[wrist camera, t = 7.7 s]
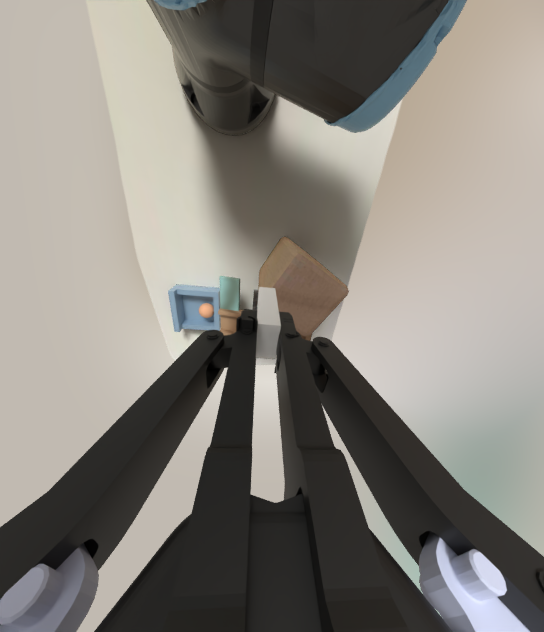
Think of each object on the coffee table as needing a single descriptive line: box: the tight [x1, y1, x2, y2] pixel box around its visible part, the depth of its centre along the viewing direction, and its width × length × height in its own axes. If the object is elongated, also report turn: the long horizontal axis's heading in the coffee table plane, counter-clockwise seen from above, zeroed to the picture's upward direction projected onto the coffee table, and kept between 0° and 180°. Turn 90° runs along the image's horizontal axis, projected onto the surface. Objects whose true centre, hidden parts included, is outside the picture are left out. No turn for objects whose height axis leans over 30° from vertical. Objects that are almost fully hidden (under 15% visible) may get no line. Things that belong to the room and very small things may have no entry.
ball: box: [199, 303, 214, 318], centre depth 46 cm, size 4×4×4 cm
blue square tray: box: [168, 284, 221, 332], centre depth 46 cm, size 10×10×4 cm
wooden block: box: [258, 237, 349, 337], centre depth 36 cm, size 10×10×20 cm
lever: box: [218, 276, 312, 341], centre depth 40 cm, size 20×13×4 cm, turn 84°
